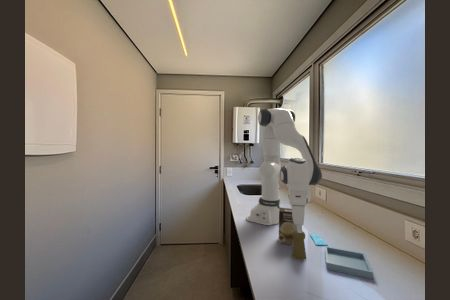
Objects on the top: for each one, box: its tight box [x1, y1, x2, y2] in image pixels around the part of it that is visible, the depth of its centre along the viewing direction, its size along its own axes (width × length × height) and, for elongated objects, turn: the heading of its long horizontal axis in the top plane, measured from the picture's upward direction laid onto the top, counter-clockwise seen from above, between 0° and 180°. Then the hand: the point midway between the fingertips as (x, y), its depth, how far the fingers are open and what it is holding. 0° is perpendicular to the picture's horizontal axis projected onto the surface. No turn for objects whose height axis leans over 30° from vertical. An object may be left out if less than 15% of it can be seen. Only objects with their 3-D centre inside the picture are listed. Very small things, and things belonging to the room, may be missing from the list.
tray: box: [324, 245, 374, 280], centre depth 81 cm, size 15×14×2 cm
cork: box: [291, 230, 307, 261], centre depth 86 cm, size 6×6×11 cm
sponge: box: [309, 233, 329, 247], centre depth 101 cm, size 2×12×6 cm
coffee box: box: [278, 206, 297, 246], centre depth 100 cm, size 9×6×16 cm
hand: (300, 227), depth 86 cm, fingers open, 8 cm apart
